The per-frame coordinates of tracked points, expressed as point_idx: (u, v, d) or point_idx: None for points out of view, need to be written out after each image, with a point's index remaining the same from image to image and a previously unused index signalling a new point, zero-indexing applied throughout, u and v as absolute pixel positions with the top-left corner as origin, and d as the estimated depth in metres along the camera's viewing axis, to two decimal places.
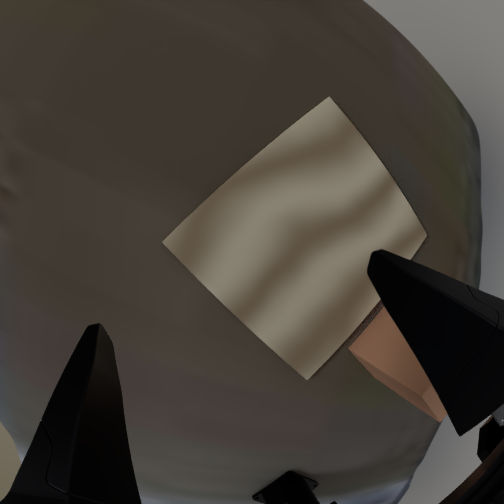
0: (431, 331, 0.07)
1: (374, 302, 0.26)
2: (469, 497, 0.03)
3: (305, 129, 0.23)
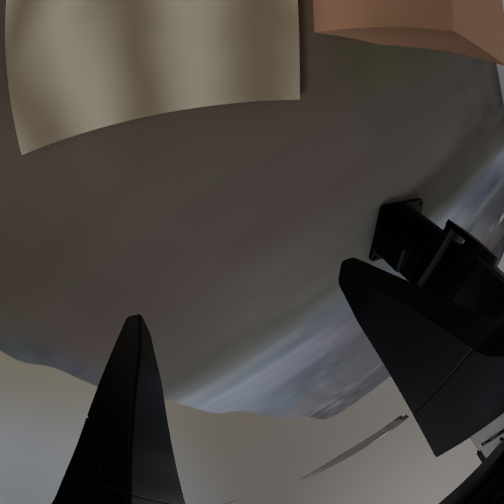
0: (403, 348, 0.07)
1: None
2: (469, 497, 0.03)
3: None
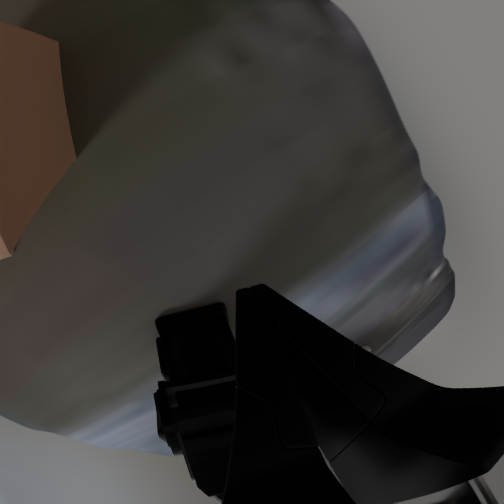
0: (306, 395, 0.06)
1: None
2: None
3: None
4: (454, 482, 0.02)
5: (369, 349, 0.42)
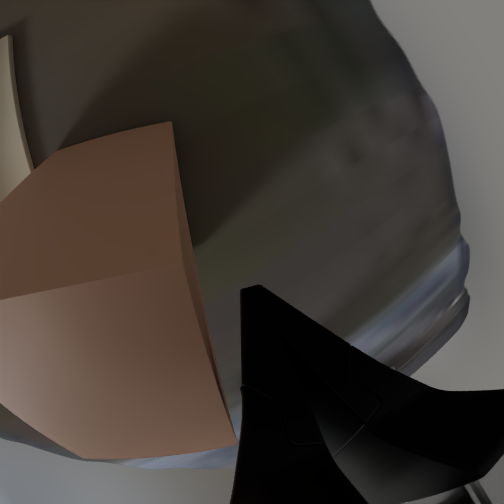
0: None
1: None
2: None
3: None
4: (449, 486, 0.02)
5: (394, 369, 0.45)
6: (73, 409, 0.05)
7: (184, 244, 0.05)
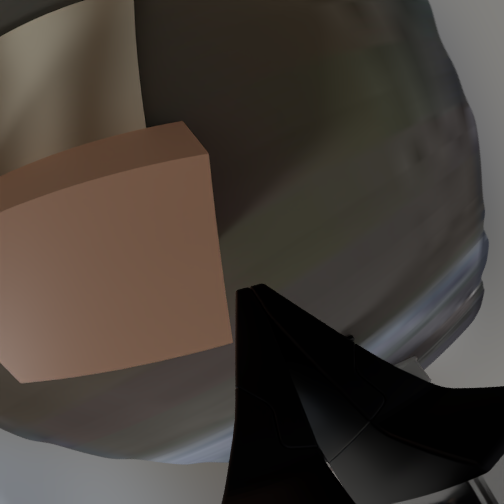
0: (306, 395, 0.06)
1: None
2: None
3: None
4: (454, 482, 0.02)
5: (416, 359, 0.46)
6: None
7: None
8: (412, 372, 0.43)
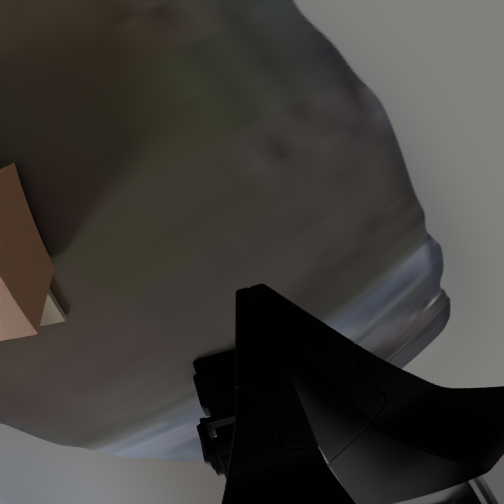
0: (306, 395, 0.06)
1: None
2: None
3: None
4: (454, 482, 0.02)
5: None
6: None
7: None
8: None
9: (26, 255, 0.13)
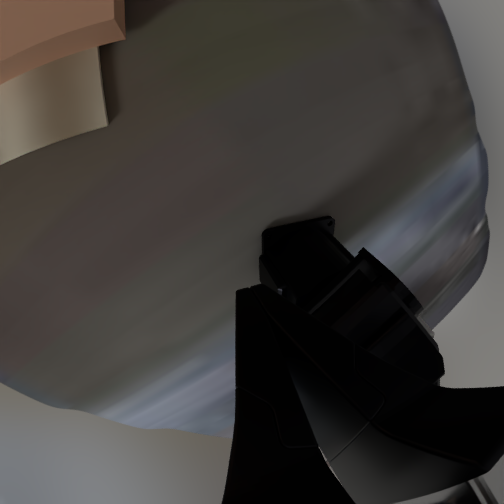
0: (306, 395, 0.06)
1: None
2: None
3: None
4: (454, 482, 0.02)
5: None
6: None
7: None
8: None
9: None
